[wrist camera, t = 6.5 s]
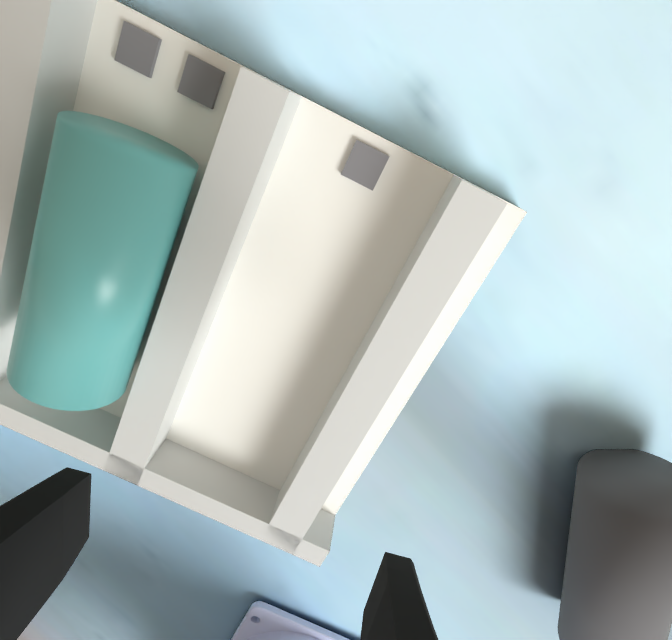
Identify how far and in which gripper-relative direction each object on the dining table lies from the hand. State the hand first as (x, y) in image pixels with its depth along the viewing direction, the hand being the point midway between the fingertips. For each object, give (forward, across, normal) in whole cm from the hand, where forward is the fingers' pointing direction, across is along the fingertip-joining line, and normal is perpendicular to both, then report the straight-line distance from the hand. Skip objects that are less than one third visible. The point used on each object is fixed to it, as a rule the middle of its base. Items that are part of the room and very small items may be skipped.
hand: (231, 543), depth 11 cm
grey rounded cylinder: (+9, -13, +5) cm, 17 cm away
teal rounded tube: (+8, +8, -3) cm, 12 cm away
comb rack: (+9, +4, -2) cm, 11 cm away
